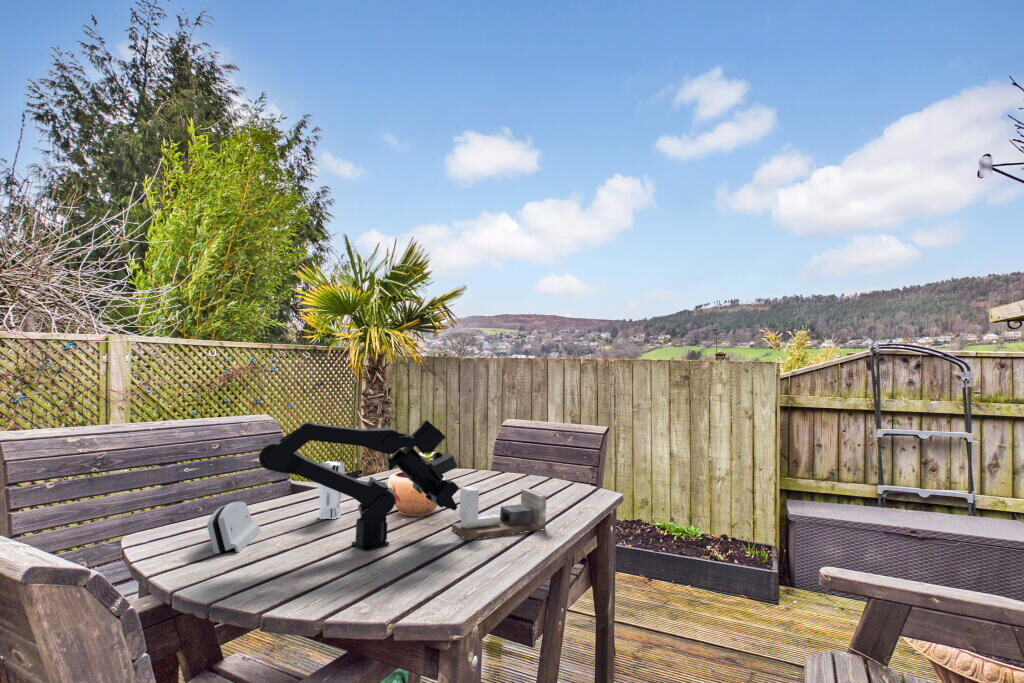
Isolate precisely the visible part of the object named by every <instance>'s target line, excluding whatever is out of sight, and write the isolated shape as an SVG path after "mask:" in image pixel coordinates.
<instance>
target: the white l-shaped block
mask: <svg viewBox="0 0 1024 683" xmlns="http://www.w3.org/2000/svg"><path fill="white" fill-rule="evenodd" d="M459 489H460V493H459V494H460V495H459V518H460V523H461V526H462V527H463V528H465V529H468V528H476V527H484V526H492V525H499V524H500V515H498V514H497V513H492V514H483V515H479V501H480V500H479V498H480V490H479V489H478V488H476V487H474V486H471V485H469V486H460V487H459Z"/></svg>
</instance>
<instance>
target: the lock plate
mask: <svg viewBox="0 0 1024 683" xmlns="http://www.w3.org/2000/svg"><path fill="white" fill-rule="evenodd" d="M520 492H521V495H520V496H521V497H520V498H521V499H520V504H513V505H504V506H501V505H500V515H499V516H500V524H499V525H492V526H484V527H476V528H468V529H465V528H463V527H462V526H461V522H456V523H451V530H452V529H453V530H454V531H453V530H452V531H453V532H455V531H456V532H457V533H458V534H457V533H456V532H455V533H456V534H457V535H459V536H460V535H461V536H462V538H463V537H464V538H465V539H466V540H465V539H464V538H463V539H464V540H465V541H467V540H468V541H473V540H472V539H475V540H479V539H478V538H482V539H485V538H484V537H490V538H492V537H491V536H497V537H500V536H499V535H504V536H507V535H506V534H511V535H513V534H512V533H518V534H521V533H520V532H525V531H533V530H540V531H542V530H541V529H545V530H546V524H547V522H546V517H547V516H546V515H547V514H546V513H547V495H545V494H543V493H540V492H538V491H536V490H533V489H531V488H528V487H524V488H523V487H522V488H521V491H520ZM533 532H534V531H533ZM525 533H526V532H525ZM461 536H460V537H461Z"/></svg>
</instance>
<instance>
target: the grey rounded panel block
mask: <svg viewBox="0 0 1024 683" xmlns="http://www.w3.org/2000/svg"><path fill="white" fill-rule="evenodd" d="M250 513H251V512H250V511H249V508H248V505H247V503H246V502H245V501H233V502H231V503H228V504H225V505H222V506H220V507H219V508H217V509H216V510H215V511H214V512H213V513H212V514H211V515H210V517H209V519H208V521H207V523H206V524H207V531H208V535H209V538H210V543H211V546H212V551H213V554H214V553H218V554H220V553H221V552H223V551H226V552H227V551H229V550H232V549H235V553H236V552H239V553H240V552H242V551H243V549H244V548H246V547H247V545H249V543H250V542H252V540H254V539H255V538H256V537H257V536H258V535H259V534H260V532H261V528H260V524H259V523H258V524H257V523H256V522H254V521H253V519H252V516H251V514H250ZM243 547H244V548H243ZM222 550H223V551H222Z"/></svg>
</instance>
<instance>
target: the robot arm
mask: <svg viewBox="0 0 1024 683" xmlns="http://www.w3.org/2000/svg"><path fill="white" fill-rule="evenodd" d="M445 439H446V436H445V435H444V434H443V432H441V431H440V429H439V428H437V427H436V426H434V425H433V424H432V423H431V422H430V421H429V420H427V419H424V420H423V422H422V423H421V424H420V426H419V427H418V428H417V429H415V431H413V432H412V434H408V433H407V432H406V433H403V432H398V431H397V430H395V429H394V428H392V427H374V428H364V429H363V428H355V427H346V426H337V425H329V424H320V423H314V422H311V421H306V422H303V423H302V424H301V425H300V426H299V427H298V428H296V429H295V430H293V431H291V432H290V433H289V434H287V435H285V436H284V437H282V438H280V439H278V440H277V439H275V440H272V441H271V440H270V441H269V442H267V443H266V444H265V445H264V447H263V448H262V449H261V451H260V453H259V455H258V458H259V459H258V461H259V464H260V465H261V467H262V468H263V469H265V470H268V471H272V472H275V473H276V472H277V473H281V474H289V475H297V476H300V477H302V478H303V479H306V480H308V481H309V480H310V481H312V482H314V483H317V484H318V483H319V484H321V485H323V486H326V487H328V488H331V489H333V490H336V491H338V492H341V493H342V494H343V495H346V496H348V497H351V498H352V499H354V500H356V501H357V502H358V503H360V504H359V505H358V507H357V508H358V511H359V514H360V517H359V518H357V519H356V522H355V523H356V525H355V541H352V542H351V545H352V546H355V547H356V548H358V549H361V550H363V551H366V552H367V551H368V552H369V551H371V550H375V549H378V548H382V547H386V546H389V545H390V541H387V540H388V522H387V515H388V513H390V512H391V511H392V509H393V508H394V507H395V503H396V498H395V496H394V493H393V492H392V491H391V489H390V487H389V486H388V484H387V483H386V482H385V481H379V480H377V479H376V478H374V477H372V476H370V477H369V479H368V481H362V480H359V479H356V478H355V477H352V476H349V475H347V474H345V473H344V474H343V473H340V472H338V471H336V470H333V469H331V468H328V467H326V466H324V465H321V464H320V463H319V462H317V461H314V460H312V459H310V458H307V457H306V456H304V455H302V454H301V453H300V451H298V450H299V449H301V448H302V447H303V446H305V445H306V444H307V443H309V442H312V441H314V442H323V443H329V444H340V445H350V446H359V447H363V448H367V449H370V450H373V451H375V452H378V453H381V454H382V453H383V454H386V455H392V454H393V455H392V456H386V458H385V459H386V464H385V466H386V468H387V470H388V471H392V470H393V469H394V468H395V467H396V468H398V469H399V470H400V472H402V473H403V474H404V475H405V476H406V477H407V479H408V481H410V482H412V488H413V489H414V491H416V492H417V493H418V494H420V495H421V494H424V495H425V498H426V499H427V500H429V501H431V502H432V503H433V504H435V505H437V506H438V507H439V508H447V509H450V510H452V511H456V510H457V509H458V506H457V503H456V501H455V500H454V498H453V496H454V495H455V494H456V493H457V492H458V490H459V489H460V487H459V486H458V485H457V484H456V483H455V482H454V481H453V480H451V479H444V478H445V476H444V475H445V474H446V473H449V472H450V471H451V470H455V469H457V467H458V464H457V460H456V459H455V457H454V455H453V454H451V453H449V452H447V453H446V452H444V453H443V454H442V452H440V451H436V452H434V453H433V451H435V449H437V447H439V445H440V444H441V443H443V441H445ZM402 448H403V449H402ZM415 448H416V449H417V450H418V451H419V452H420V453H421V454H422V455H425V454H429V455H430V454H432V453H433V454H432V459H431V462H428V461H427V460H426V459H424V458H423V457H422V455H421V454H419V452H418V451H417V450H416V449H415Z"/></svg>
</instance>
